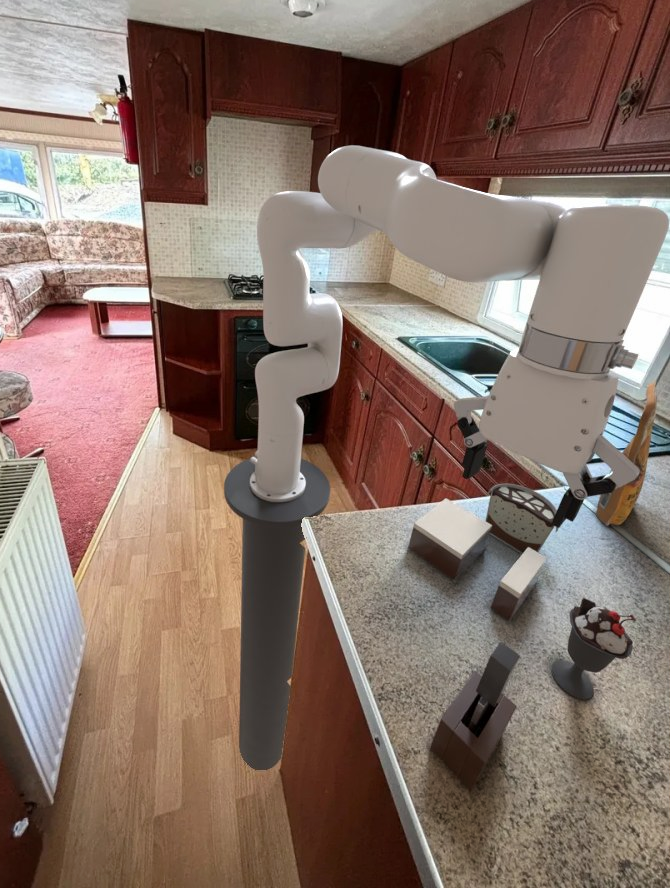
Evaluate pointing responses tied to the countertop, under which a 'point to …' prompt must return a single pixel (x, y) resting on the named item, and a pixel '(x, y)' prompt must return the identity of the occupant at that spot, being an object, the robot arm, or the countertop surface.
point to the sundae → (591, 647)
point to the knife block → (470, 733)
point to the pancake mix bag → (623, 498)
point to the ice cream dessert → (520, 516)
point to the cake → (449, 538)
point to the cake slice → (518, 583)
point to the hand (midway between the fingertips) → (512, 495)
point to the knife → (493, 682)
